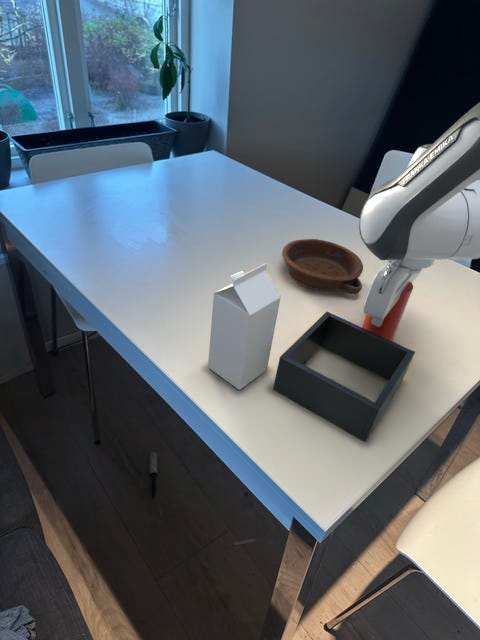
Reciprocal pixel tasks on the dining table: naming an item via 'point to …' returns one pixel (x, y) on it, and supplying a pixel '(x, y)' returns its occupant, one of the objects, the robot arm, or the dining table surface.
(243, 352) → the milk carton
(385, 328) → the can
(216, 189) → the dining table surface
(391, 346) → the open box
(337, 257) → the dish
